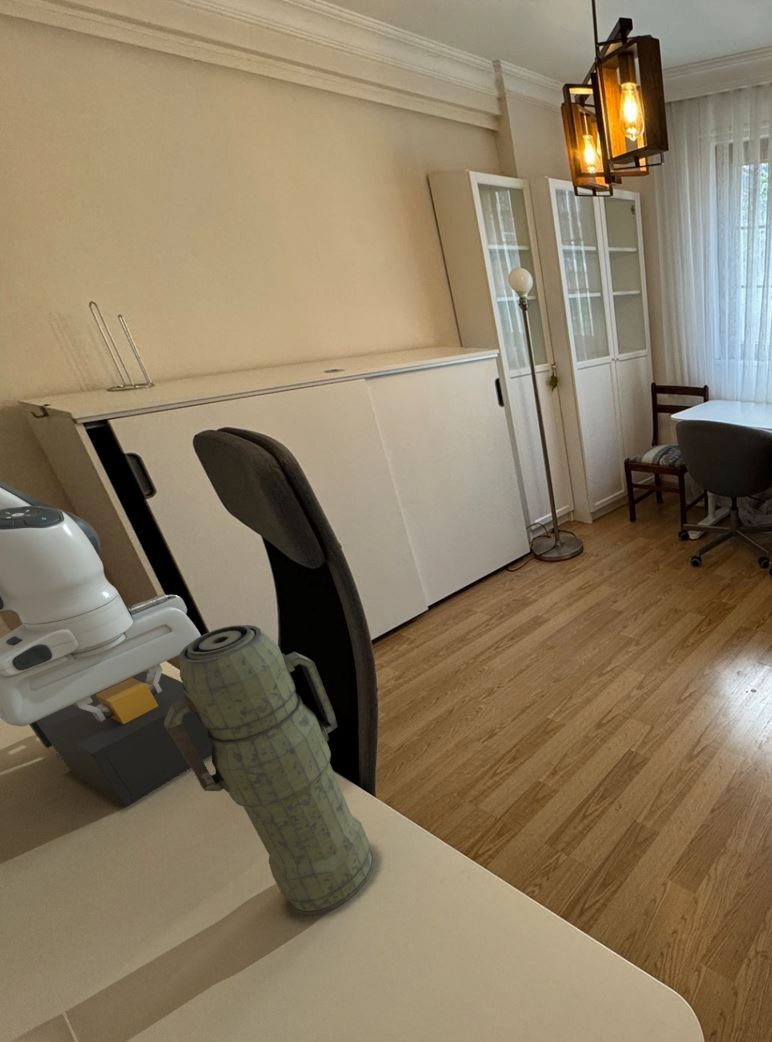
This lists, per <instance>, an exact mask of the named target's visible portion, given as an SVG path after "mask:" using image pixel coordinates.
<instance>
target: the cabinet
mask: <svg viewBox="0 0 772 1042" xmlns="http://www.w3.org/2000/svg"><path fill="white" fill-rule="evenodd" d="M130 678H133V679H135V680H138V681H140V682H142V683H146V678H147V672H145V671H143V672H141V673H139V674H137V675H135V676H133V677H130ZM130 678H128V679H130ZM128 679H126V680H128ZM126 680H124V681H126ZM124 681H122V682H124ZM122 682H120V683H122ZM120 683H117V684H115V685H118V684H120ZM158 684H159V686H160V688H161V690H162V692H160V693H158V694H156V695H154V696H153V697H154V699H155V701H156V702H157V704H158V707H156V708H154V709H152V710H150V711H148V712H146V713H144V714H143V715H141V716H139V717H137V718H135V719H133V720H131V721H129V722H127V723H125V724H122V723H120V722H118V721H116V720H114V719H113V718H111V717H110V718H108V719H106V720H104V721H102V722H100V721H98V720H97V719H96V718H95V717H94V715H93V714H92V712H89V711H86V710H83V709H80V708H78V707H76V706H74V705H70V706H68V707H66V708H63V709H61V710H59V711H57V712H55V713H53V714H50V715H48V716H46V717H44V718H42V719H40V720H37V721H36V723H37V724H38V725H39V727H40V728H41V730H42V731H43V733H44V734H45V736H46V737H47V738H48V740H49V741H50V743H51V744H52V746H51V747H53V749H54V750H55V751H56V753H57V754H58V757H60V759H61V760H62V761H63V764H64V765H65V766H66V767H67V769H68V770H69V772H71V773H72V774H74V775H75V776H76V777H78V778H80V779H81V780H83V781H85V782H86V783H87V784H89V785H90V786H93V787H94V788H96V789H97V790H98V791H100V792H102V793H103V794H105V795H107V796H108V797H110V798H111V799H113V800H114V801H116V802H117V803H119V804H120V805H122V806H123V807H125V808H127V807H128V806H130V805H132V804H133V803H135V802H137V801H138V800H140V799H141V798H143V797H145V796H147V795H148V794H150V793H151V792H153V791H154V790H156V789H158V788H159V787H162V786H163V785H164V784H167V782H170V781H171V780H173V779H174V778H176V777H177V776H179V775H181V774H183V773H184V772H186V771H187V770H189V769H192V768H191V767H190V765H189V763H188V762H187V760H186V759H185V757H184V756H183V754H182V753H181V751H180V749H179V748H178V746H177V745H176V743H175V742H174V740H173V738H172V737H171V735H170V734H169V732H168V731H167V729H166V728H165V726H164V720H165V718H166V716H167V713H168V711H169V709H170V706H171V704H172V703H174V702H175V701H177V700H179V699H181V698H182V697H184V696H185V692H184V690H183V689H182V688H183V682H182V680H181V681H180V680H179V679H177V678H174V677H172V676H169V675H167V674H165V673H163V672H162V673H161V676H160V680H159V682H158ZM115 685H113V686H115ZM113 686H111V687H113ZM111 687H109V688H111ZM109 688H107V689H109ZM107 689H104V690H102V691H105V690H107ZM102 691H100V692H102ZM100 692H98V693H100ZM98 693H96V694H98ZM96 694H94V695H91V696H90V697H91V699H92V701H93V702H92V703H90V704H91V705H94V706H98V705H100V704H101V703H100V701H99V700H98V698H97V696H96ZM182 725H183V726H184V728H185V730H186V732H187V734H188V735H189V737H190V739H191V741H192V743H193V744H194V746H195V748H196V750H197V752H198V753H199V755H200V757H201V759H202V760H203V761H204V760H205V759H207V758H208V757H210V756H212V743H211V741H210V739H209V738H208V729H207V728H205V727H204V726H203V725H202V724H201V722H200V720H199V719H198V717H197V715H196V713H194V712H193V711H190V712H188V713H186V714H184V717H183V721H182Z"/></svg>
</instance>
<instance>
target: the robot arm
mask: <svg viewBox="0 0 772 1042" xmlns="http://www.w3.org/2000/svg"><path fill="white" fill-rule="evenodd" d="M100 555H101V540H100V537H99V535H98V532H97V531H96V530H95V529H94V527H93V526H92V525H91V524H90V523H88V521H86V520H85V519H82V518H81V517H79V516H77V515H76V514H73V513H71V512H69V511H66V510H63V509H61V508H58V507H56V506H53V505H50V504H48V503H45V502H43V501H41V500H38V499H36V498H34V497H32V496H31V495H28V494H26V493H25V492H23V491H21V490H19V489H16V488H15V487H13V486H11V485H10V484H8V483H5V482H4V481H2V480H0V612H1V611H13V612H14V613H16V614H17V615H18V618H19V620H20V622H21V623H22V624H20V625H19V626H18V627H16V628H14V629H13V630H11V631H10V632H8V633H7V634H5V635H4V636H2V637H0V719H1V720H2V721H3V722H5V723H6V724H8V725H10V726H17V727H27V726H30V725H29V724H31V723H33V722H35V721H37V720H40V719H42V718H44V717H46V716H48V715H50V714H53V713H55V712H57V711H59V710H61V709H63V708H66V707H68V706H70V705H74V706H76V707H78V708H80V709H83V710H86V711H89V712H92V714H93V715H94V717H95V718H96V719H97V720H98V721H100V722H102V721H104V720H106V719H108V718H110V717H112V716H114V713H113V712H112V710H111V708H110V706H108V705H106V704H104V703H102V704H100V705H98V706H94V705H91V704H90V703H92V702H93V701H92V699H91V697H90V696H91V695H94V694H96V693H98V692H100V691H102V690H104V689H107V688H109V687H111V686H113V685H115V684H117V683H120V682H122V681H124V680H126V679H128V678H130V677H133V676H135V675H137V674H139V673H141V672H143V671H145V672H147V678H146V683H144V684H146V685H147V686H148V688H149V690H150V692H151V694H152V695H153V696H154V695H156V694H158V693H160V692H162V690H161V688H160V686H159V684H158V682H159V680H160V676H161V673H163V667H162V666H161V664H163V663H165V662H167V661H169V660H172V659H174V658H176V657H179V656H180V653H181V651H182V650H183V649H184V648H185V647H186V646H187V645H189V644H190V643H191V642H193V641H194V640H195V639H197V638H198V637H200V636H202V635H201V633H200V631H199V629H198V628H197V627H196V625H195V623H194V622H193V621H192V619H190V617H189V616H188V615H187V612H188V608H187V606H186V604H185V601H184V599H183V598H182V597H181V596H179V595H177V594H165V593H162V594H159V595H158V594H157V595H156V596H154V597H152V598H150V599H146V600H144V601H140V602H137V603H135V604H132V605H129V606H126V604H125V602H124V600H123V598H122V597H121V595H120V593H119V591H118V590H117V588H116V587H115V586H114V585H112V584H111V583H110V582H109V580H108V579H107V577H106V575H105V572H104V569H105V568H104V564H103V561H102V560H101V557H100Z"/></svg>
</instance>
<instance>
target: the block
mask: <svg viewBox="0 0 772 1042" xmlns="http://www.w3.org/2000/svg"><path fill="white" fill-rule="evenodd" d="M96 696H97V698H98V700H99V701H100V703H101V704H102V703H104V704H106V705H108V706H110V708H111V710H112V712H113V713H114V716H112V717H111V718H113V719H114V720H116V721H118V722H120V723H122V724H125V723H127V722H129V721H131V720H133V719H135V718H137V717H139V716H141V715H143V714H144V713H146V712H148V711H150V710H152V709H154V708H156V707H158V704H157V702H156V701H155V699H154V697H153V695H152V694H151V692H150V690H149V688H148V686H147V685H146V684H144V683H142V682H140V681H138V680H135V679H133V678H130V679H128V680H126V681H124V682H122V683H120V684H118V685H115V686H113V687H111V688H109V689H107V690H105V691H102V692H100V693H98V694H96Z"/></svg>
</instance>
